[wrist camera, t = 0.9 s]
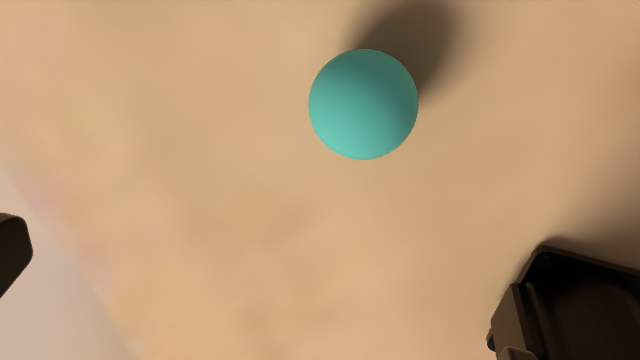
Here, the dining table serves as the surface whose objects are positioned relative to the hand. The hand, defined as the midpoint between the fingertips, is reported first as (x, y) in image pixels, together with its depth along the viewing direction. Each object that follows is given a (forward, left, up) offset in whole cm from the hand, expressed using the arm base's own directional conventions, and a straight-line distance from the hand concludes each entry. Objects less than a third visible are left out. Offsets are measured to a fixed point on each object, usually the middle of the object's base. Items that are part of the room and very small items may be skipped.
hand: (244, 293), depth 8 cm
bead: (-1, -1, -12) cm, 12 cm away
